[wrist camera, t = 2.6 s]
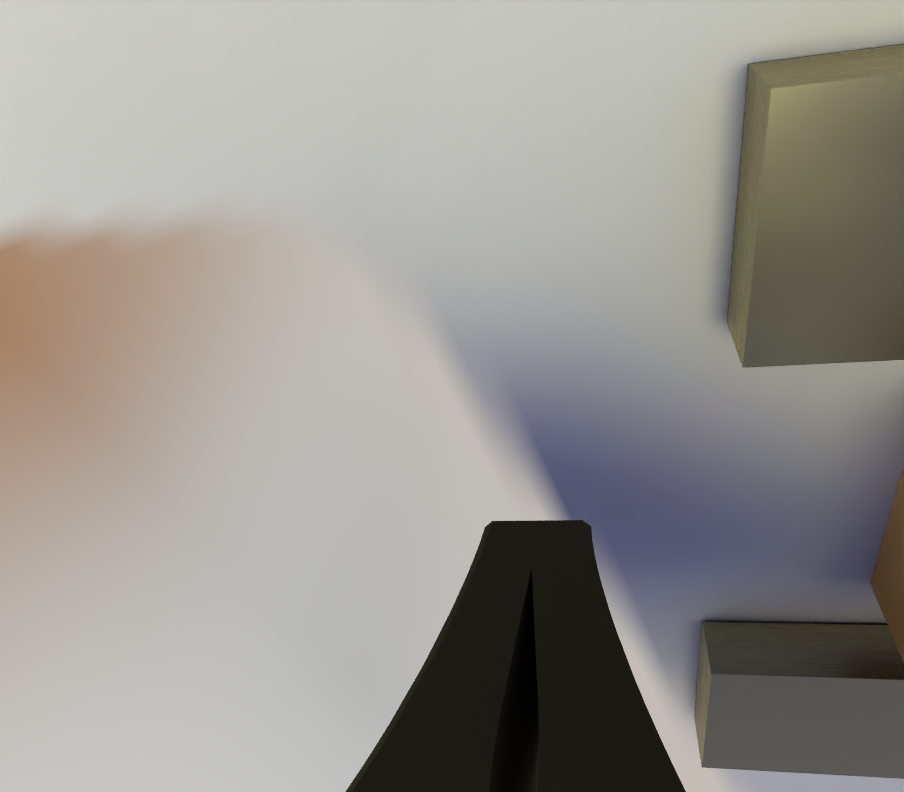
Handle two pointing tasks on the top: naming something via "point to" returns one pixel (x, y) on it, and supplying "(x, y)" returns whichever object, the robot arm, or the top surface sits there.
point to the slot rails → (813, 342)
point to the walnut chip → (892, 570)
